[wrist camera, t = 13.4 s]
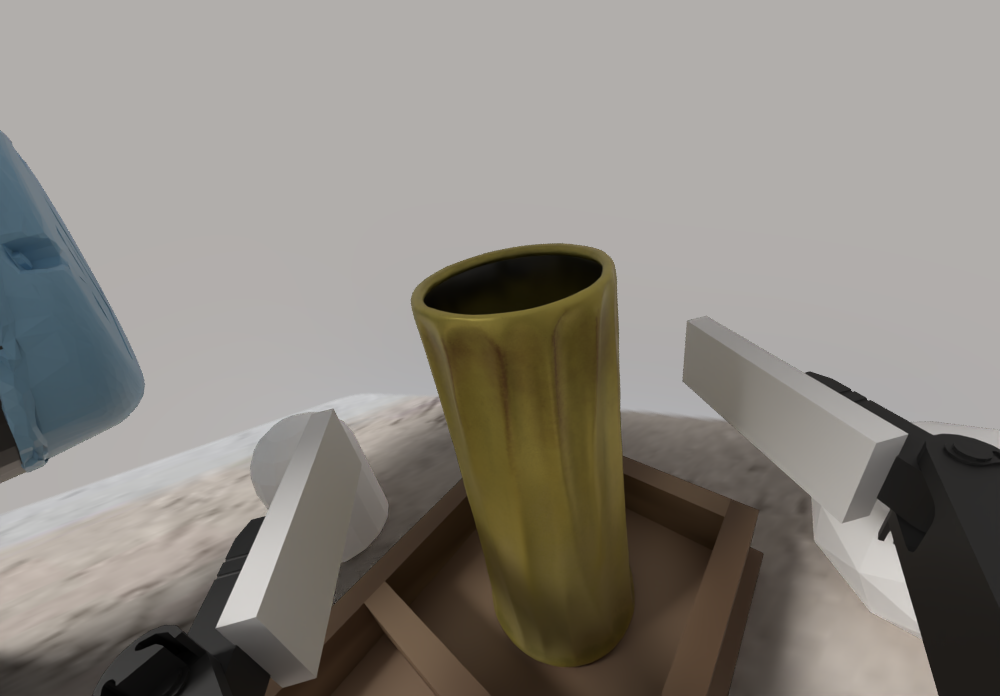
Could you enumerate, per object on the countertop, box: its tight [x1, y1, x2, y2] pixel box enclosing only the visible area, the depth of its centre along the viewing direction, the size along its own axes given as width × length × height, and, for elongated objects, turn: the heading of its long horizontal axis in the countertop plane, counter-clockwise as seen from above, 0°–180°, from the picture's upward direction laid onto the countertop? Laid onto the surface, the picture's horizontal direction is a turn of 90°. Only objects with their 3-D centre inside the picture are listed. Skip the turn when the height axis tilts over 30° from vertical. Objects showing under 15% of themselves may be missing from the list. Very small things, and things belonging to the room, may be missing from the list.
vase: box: [411, 243, 635, 667], centre depth 13 cm, size 6×6×14 cm
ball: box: [811, 422, 1000, 640], centre depth 13 cm, size 8×8×8 cm
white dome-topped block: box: [250, 412, 389, 563], centre depth 21 cm, size 5×5×8 cm
